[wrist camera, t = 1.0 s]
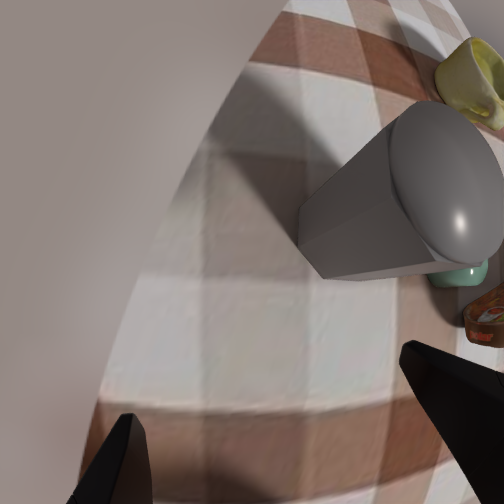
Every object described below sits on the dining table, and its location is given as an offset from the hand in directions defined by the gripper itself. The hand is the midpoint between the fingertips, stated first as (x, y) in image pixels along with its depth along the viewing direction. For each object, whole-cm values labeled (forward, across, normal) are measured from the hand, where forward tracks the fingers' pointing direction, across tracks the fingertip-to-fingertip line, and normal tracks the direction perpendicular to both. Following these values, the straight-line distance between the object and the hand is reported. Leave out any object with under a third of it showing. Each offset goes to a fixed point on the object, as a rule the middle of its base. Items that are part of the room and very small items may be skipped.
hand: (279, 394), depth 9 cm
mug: (+20, -31, -10) cm, 38 cm away
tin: (+9, -26, +10) cm, 29 cm away
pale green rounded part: (+12, -19, +5) cm, 23 cm away
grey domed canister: (+14, -9, +1) cm, 17 cm away
